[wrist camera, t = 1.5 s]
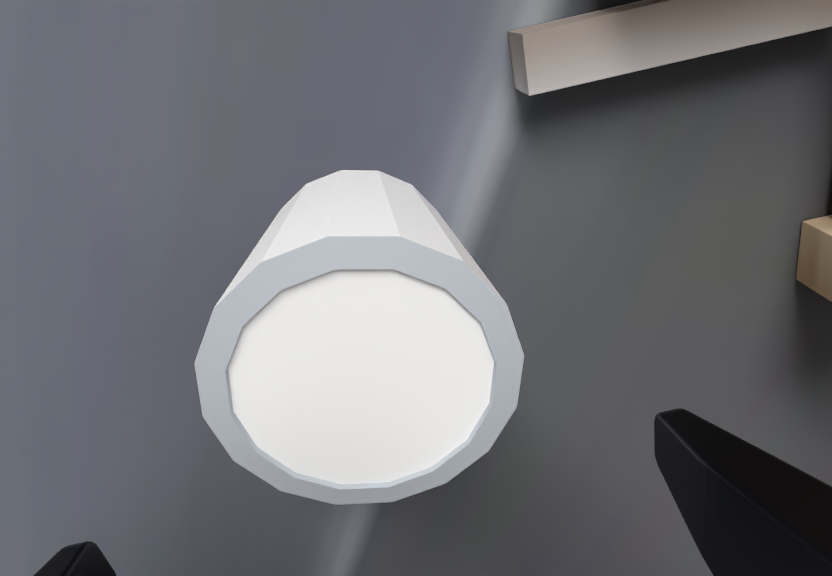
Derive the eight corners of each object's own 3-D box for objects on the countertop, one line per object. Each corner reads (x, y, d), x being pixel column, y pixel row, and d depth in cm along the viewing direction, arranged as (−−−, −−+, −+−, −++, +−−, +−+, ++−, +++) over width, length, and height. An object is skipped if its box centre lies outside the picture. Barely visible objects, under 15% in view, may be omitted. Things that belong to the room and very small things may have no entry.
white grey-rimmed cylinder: (437, 362, 20) (475, 522, 14) (236, 332, 19) (181, 494, 13) (494, 174, 18) (571, 271, 11) (262, 124, 16) (207, 202, 10)
